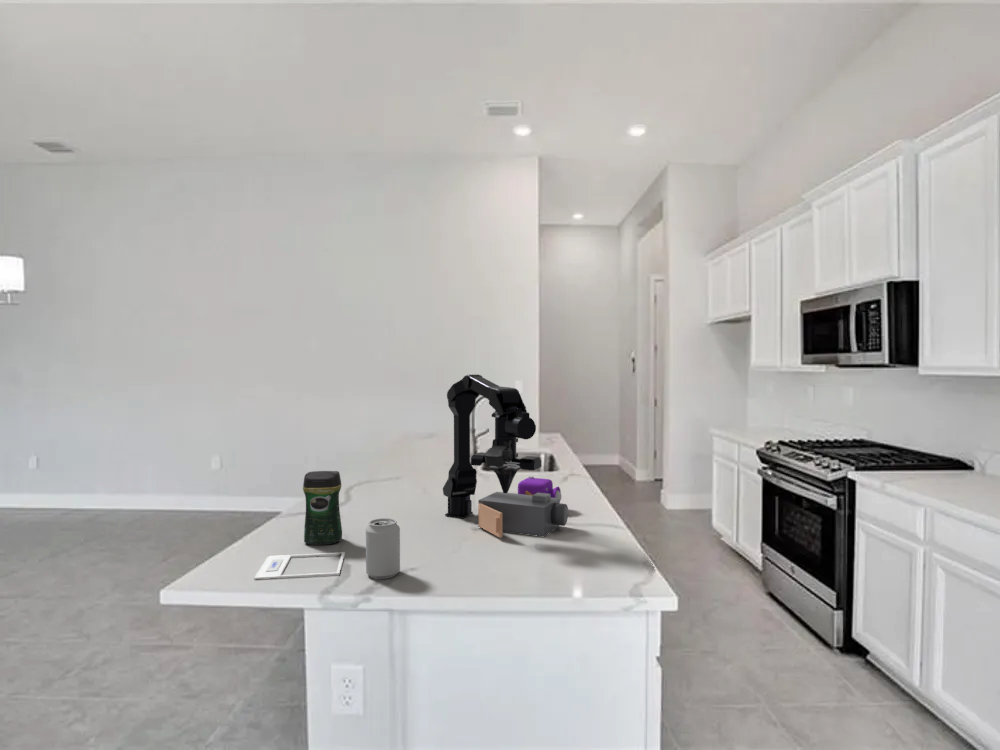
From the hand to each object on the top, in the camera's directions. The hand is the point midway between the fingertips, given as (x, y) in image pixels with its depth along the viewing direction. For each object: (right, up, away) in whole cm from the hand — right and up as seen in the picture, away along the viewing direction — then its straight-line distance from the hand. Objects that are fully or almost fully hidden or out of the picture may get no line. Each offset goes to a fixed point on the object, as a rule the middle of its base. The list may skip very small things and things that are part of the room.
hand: (505, 492), depth 165 cm
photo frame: (-47, -13, -23) cm, 54 cm away
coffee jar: (-48, -12, -3) cm, 50 cm away
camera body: (+5, -12, +10) cm, 16 cm away
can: (-28, -13, -28) cm, 41 cm away
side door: (-5, -11, +3) cm, 12 cm away
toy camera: (+11, -11, +30) cm, 34 cm away
